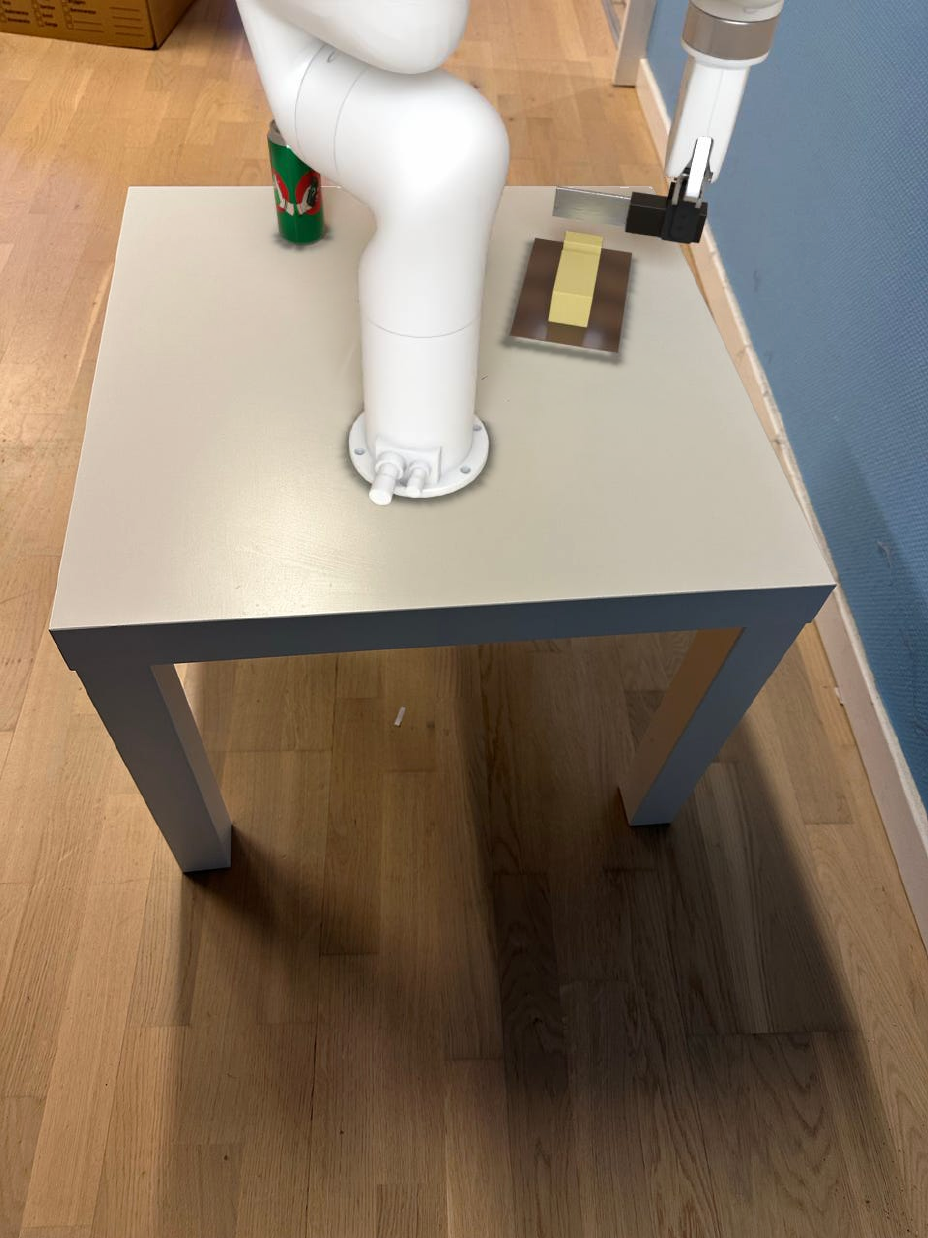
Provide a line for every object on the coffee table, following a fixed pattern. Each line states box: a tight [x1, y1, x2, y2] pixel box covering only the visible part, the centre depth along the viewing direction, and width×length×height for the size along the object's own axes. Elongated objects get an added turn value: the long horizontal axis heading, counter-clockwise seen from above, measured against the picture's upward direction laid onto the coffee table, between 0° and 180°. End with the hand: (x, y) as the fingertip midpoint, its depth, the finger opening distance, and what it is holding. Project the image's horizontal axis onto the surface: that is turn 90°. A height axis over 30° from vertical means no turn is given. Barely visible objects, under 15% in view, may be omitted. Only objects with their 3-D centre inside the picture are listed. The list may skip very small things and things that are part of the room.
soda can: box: [266, 118, 326, 246], centre depth 95 cm, size 5×5×12 cm
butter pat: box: [563, 230, 604, 255], centre depth 96 cm, size 2×4×4 cm, turn 79°
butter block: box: [548, 250, 600, 327], centre depth 92 cm, size 8×4×4 cm, turn 169°
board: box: [509, 237, 633, 354], centre depth 95 cm, size 18×11×1 cm, turn 169°
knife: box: [552, 185, 709, 244], centre depth 89 cm, size 15×2×3 cm, turn 79°
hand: (676, 230), depth 90 cm, fingers closed on knife, 2 cm apart
